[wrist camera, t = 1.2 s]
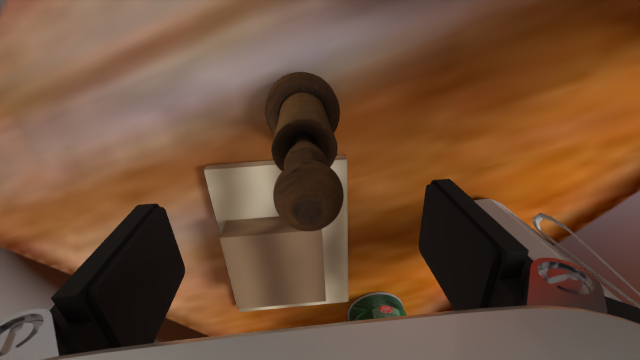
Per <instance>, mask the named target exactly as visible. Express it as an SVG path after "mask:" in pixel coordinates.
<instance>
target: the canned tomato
mask: <svg viewBox="0 0 640 360" xmlns="http://www.w3.org/2000/svg"><path fill="white" fill-rule="evenodd" d="M398 316H407V315H406V313H405V310H404V307H403V304H402V302H401V301H400V299H399V298H398V297H397V296H395V295H393V294H390V293H387V292H373V293H369V294H365V295H363V296H361V297H359V298H358V299H357V300H355V301H354V302H353V303H352V305H351V306H350V308H349V310H348V320H349V322H350V321H359V320H369V319H379V318H388V317H398Z"/></svg>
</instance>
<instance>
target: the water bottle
mask: <svg viewBox="0 0 640 360" xmlns="http://www.w3.org/2000/svg"><path fill="white" fill-rule="evenodd" d="M474 201H475V202H476V203H477V204H478V205H479V206H480V207H481V208H482V209H484V210H485V211H486V212H487V213H488V214H489V215H490V216H491V217H492V218H494V219H495V220H496V221H497V222H498V223H499V224H500V225H501V226H502V227H504V228H505V229H506V230H507V231H508V232H509V233H510V234H511V235H512V236H514V237H515V238H516V239H517V240H518V241H519V242H520V243H521V244H522V245H524V246H525V247H526V248H527V249H528V250H529V253H528V256H529V257H530V258H531V259H532V260H533V261H534V260H536V259H538V258H544V257H547V258H557V259H561V260H565V261H568V262H571V263H573V264H575V263H574V262H573V261H571V260H570V259H569V258H567V256H565V255H564V254H563V253H562V252H560V251H559V250H558V249H557V248H556V247H554V246H553V245H552V244H551V243H549V242H548V241H547V240H546V239H545V238H543V237H542V236H541V235H540V234H538V233H537V232H536V231H535V230H533V229H532V228H531V227H530V226H529V225H527V224H526V223H525V222H524V221H522V220H521V219H520V218H519V217H518V216H516V215H515V214H514V213H513V212H511V211H510V210H509V209H508V208H507V207H505V206H504V205H503V204H502V203H499V202H497V201H494V200H492V199H481V200H474ZM543 218H545V219H548V220H550V221H553V222H555V223H556V224H558V225H559V226H561V227H563V228H564V229H566V230H568V231H569V232H570V233H571V234H572V235H573V236H574V237H575V238H577V239H578V240H579V241H580V242H581V243H582V244H583V245H584V246H585V247H587V248H588V249H589V250H590V251H591V252H592V253H593V254H594V255H595V256H596V257H597V258H599V259H600V260H601V261H602V262H603V263H604V264H605V265H606V266H607V267H609V268H610V269H611V270H612V271H613V272H614V273H615V274H616V275H617V276H618V277H619V278H621V279H622V280H623V281H624V282H625V283H626V284H627V285H629V287H631V288H632V289H633V290H634V291H635V292H636V293H637V294H638V295H639V296H640V293H639V292H637V291H636V290H635V289H634V288H633V287H632V286H631V285H630V284H629V283H628V282H627V281H626V280H624V279H623V278H622V277H621V276H620V275H619V274H618V273H617V272H616V271H615V270H613V269H612V268H611V267H610V266H609V265H608V264H607V263H606V262H605V261H604V260H603V259H602V258H600V257H599V256H598V255H597V254H596V253H595V252H594V251H593V250H592V249H591V248H589V247H588V246H587V245H586V244H585V243H584V242H583V241H582V240H581V239H579V238H578V237H577V236H576V235H575V234H574V233H573V232H572V231H571V230H570V229H568V228H567V227H566V226H565V225H564V224H562V223H560V222H558V221H557V220H555V219H553V218H552V217H550V216H547V215H545V214H542V213H539V214H538V215H536V216H535V217H533V224H534V226H535V227H536V229H537V230H538V231H539V232H540V233H541V234H542V235H543V236H544V237H546V238H547V239H548V240H549V241H551V242H552V243H553V244H555V245H556V246H557V247H559V248H560V249H561V250H563V251H564V252H565V253H567V254H568V255H569V256H571V257H572V258H573V259H575V260H576V261H577V262H579V263H580V264H582V265H583V266H584V267H585V268H587V269H588V270H589V271H591V272H592V273H593V274H595V275H596V276H597V277H599V278H600V279H601V280H603V281H604V282H605V283H607V284H608V285H609V286H611V287H612V288H613V289H615V290H616V291H617V292H619V293H620V294H621V295H623V296H624V297H625V298H627V299H628V300H629V301H631V302H632V303H633V304H635V305H636V306H637V307H639V308H640V305H639V304H637V303H636V302H635V301H633V300H632V299H631V298H629V297H628V296H627V295H625V294H624V293H623V292H621V291H620V290H619V289H617V288H616V287H615V286H613V285H612V284H611V283H609V282H608V281H607V280H605V279H604V278H603V277H602V276H600V275H599V274H598V273H596V272H595V271H594V270H592V269H591V268H590V267H588V266H587V265H586V264H584V263H583V262H582V261H580V260H579V259H578V258H576V257H575V256H574V255H573V254H571V253H570V252H569V251H567V250H566V249H565V248H563V247H562V246H561V245H559V244H558V243H557V242H555V241H554V240H553V239H551V238H550V237H549V236H547V235H546V234H545V233H543V232H542V231H541V229H540V225H539V223H540V221H541V220H542V219H543ZM602 288H603V291H604V296H607V297H609V298H612V299H615V300H618V301H620V300H619V299H618V298H617V297H615V296H614V295H613V294H612V293H611V292H609V291H608V290H607V289H606V288H604V287H603V286H602ZM620 302H622V301H620Z"/></svg>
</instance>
